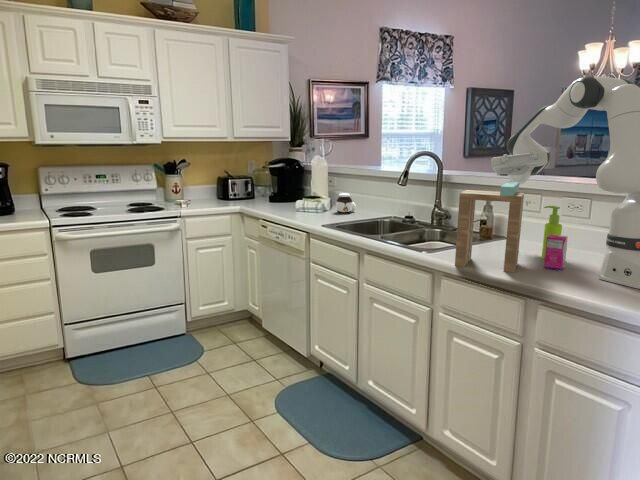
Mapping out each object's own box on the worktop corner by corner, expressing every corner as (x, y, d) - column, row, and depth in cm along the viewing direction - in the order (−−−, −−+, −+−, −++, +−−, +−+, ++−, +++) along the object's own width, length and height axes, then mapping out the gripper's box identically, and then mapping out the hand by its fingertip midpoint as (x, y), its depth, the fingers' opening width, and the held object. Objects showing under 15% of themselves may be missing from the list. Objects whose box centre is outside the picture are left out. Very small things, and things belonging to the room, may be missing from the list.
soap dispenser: (542, 254, 193) (547, 204, 189) (560, 258, 188) (566, 206, 184) (536, 257, 189) (541, 206, 185) (554, 260, 184) (560, 207, 180)
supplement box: (547, 264, 177) (551, 234, 175) (565, 267, 174) (569, 236, 172) (543, 268, 173) (546, 236, 171) (561, 270, 169) (564, 238, 167)
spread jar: (335, 213, 297) (335, 194, 295) (337, 210, 308) (338, 192, 306) (354, 214, 295) (355, 194, 293) (356, 211, 306) (357, 193, 304)
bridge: (461, 257, 187) (466, 189, 182) (517, 263, 179) (524, 192, 174) (454, 265, 175) (459, 193, 170) (514, 272, 166) (521, 196, 161)
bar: (507, 189, 185) (508, 181, 185) (518, 190, 184) (519, 182, 183) (500, 195, 164) (500, 186, 164) (512, 196, 163) (513, 187, 162)
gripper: (547, 170, 192) (549, 159, 180) (493, 176, 200) (491, 165, 187) (546, 155, 194) (548, 142, 181) (492, 161, 201) (490, 150, 189)
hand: (518, 154), depth 184 cm, fingers open, 8 cm apart
